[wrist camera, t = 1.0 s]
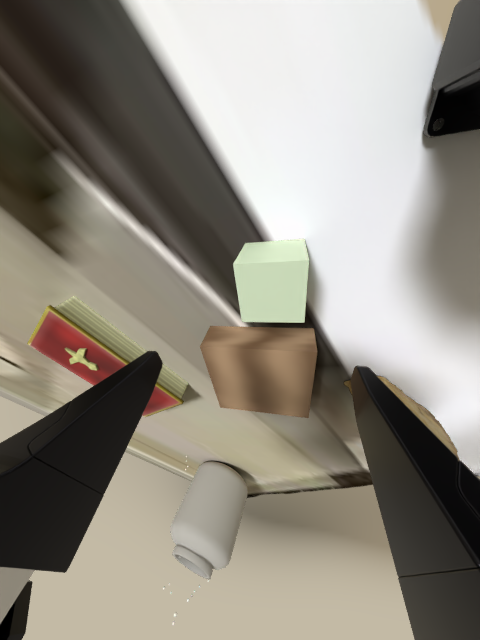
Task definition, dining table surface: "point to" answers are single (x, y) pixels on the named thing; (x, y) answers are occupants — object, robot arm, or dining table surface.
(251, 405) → the walnut block
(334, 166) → the dining table surface
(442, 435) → the brown tan chunky block
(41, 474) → the robot arm
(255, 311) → the green cube
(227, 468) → the jar
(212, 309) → the dining table surface
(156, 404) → the hardcover book
